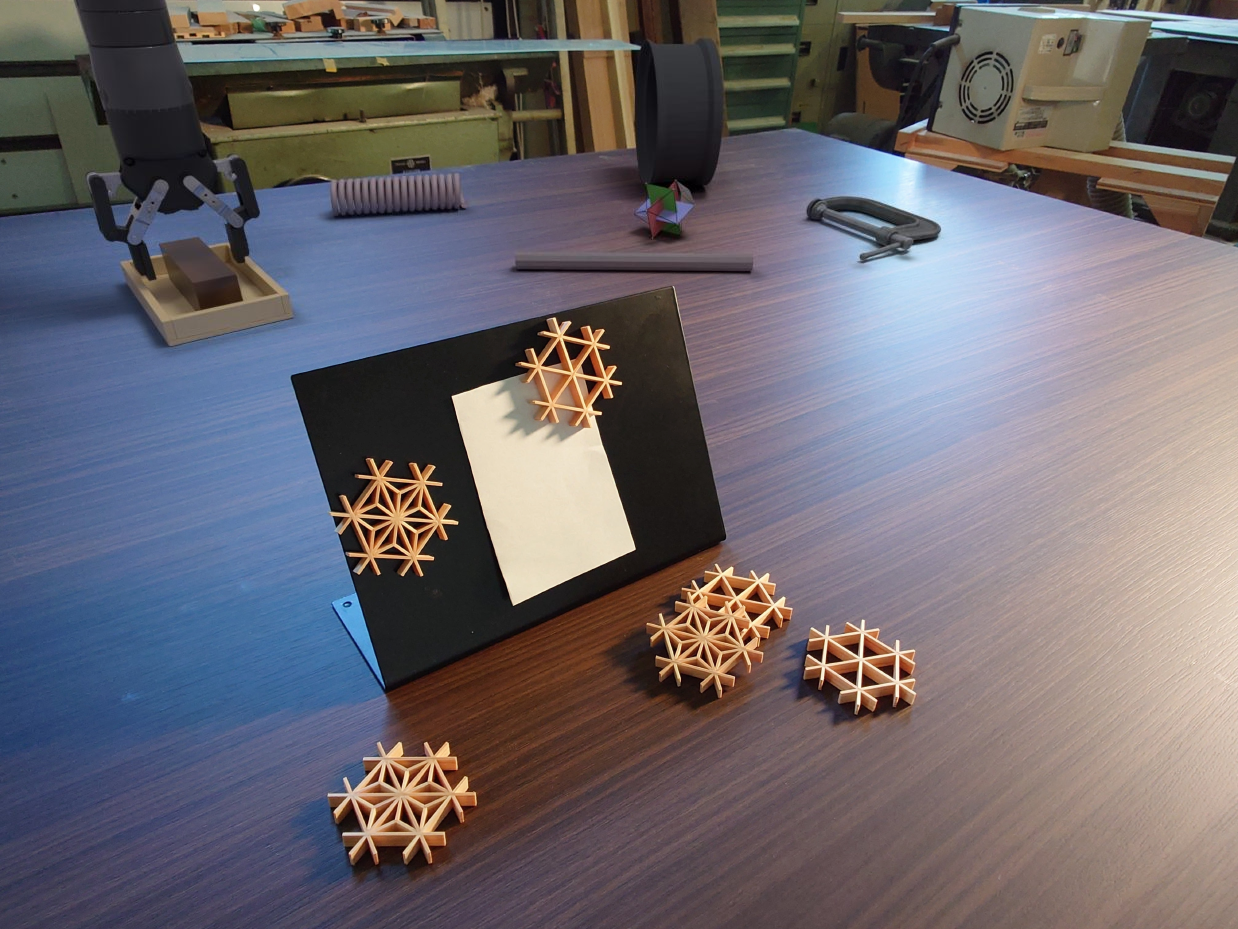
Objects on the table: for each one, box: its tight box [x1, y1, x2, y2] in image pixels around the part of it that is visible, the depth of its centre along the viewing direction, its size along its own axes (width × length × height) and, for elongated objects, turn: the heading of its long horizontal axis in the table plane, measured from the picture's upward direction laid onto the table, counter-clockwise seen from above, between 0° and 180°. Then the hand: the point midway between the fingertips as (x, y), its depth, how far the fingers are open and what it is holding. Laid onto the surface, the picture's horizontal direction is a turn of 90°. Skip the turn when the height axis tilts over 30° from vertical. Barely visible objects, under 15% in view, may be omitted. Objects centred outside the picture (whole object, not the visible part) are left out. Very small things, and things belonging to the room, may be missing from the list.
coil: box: [329, 172, 468, 217], centre depth 110 cm, size 5×5×18 cm
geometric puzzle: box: [632, 180, 696, 240], centre depth 102 cm, size 7×7×8 cm
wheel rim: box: [634, 37, 724, 187], centre depth 119 cm, size 20×9×20 cm, turn 8°
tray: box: [119, 241, 295, 347], centre depth 84 cm, size 12×20×2 cm, turn 37°
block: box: [158, 236, 243, 311], centre depth 83 cm, size 4×14×4 cm, turn 37°
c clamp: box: [805, 195, 942, 261], centre depth 106 cm, size 20×17×3 cm
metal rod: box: [514, 251, 754, 272], centre depth 93 cm, size 2×27×2 cm, turn 90°
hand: (196, 269), depth 83 cm, fingers open, 8 cm apart
